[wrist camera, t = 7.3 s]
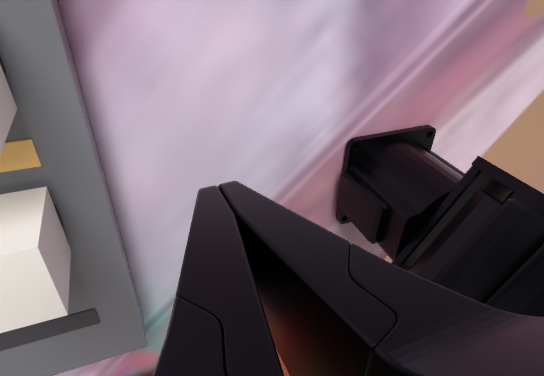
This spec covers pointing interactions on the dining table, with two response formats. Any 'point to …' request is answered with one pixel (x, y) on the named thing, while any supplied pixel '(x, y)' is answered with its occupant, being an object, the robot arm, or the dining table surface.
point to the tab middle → (32, 260)
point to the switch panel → (63, 199)
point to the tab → (5, 108)
